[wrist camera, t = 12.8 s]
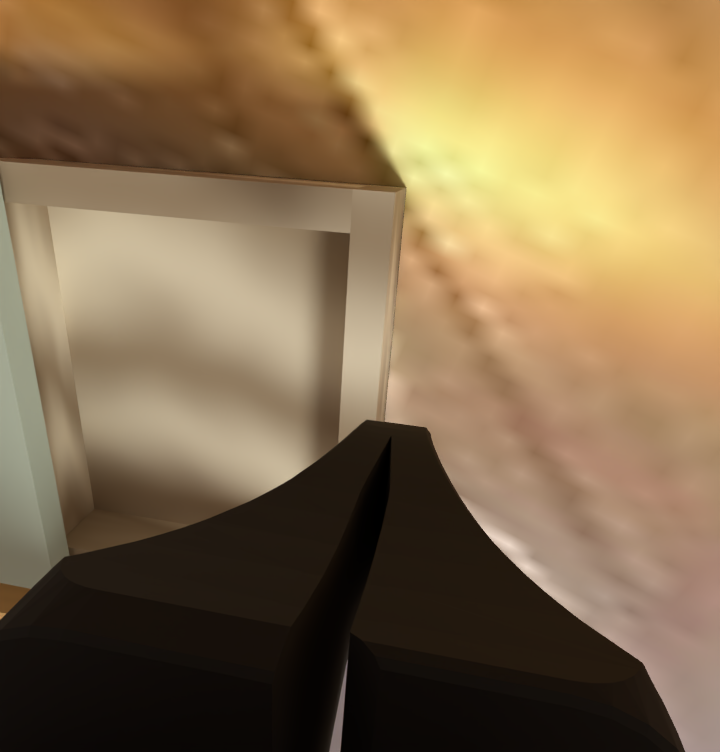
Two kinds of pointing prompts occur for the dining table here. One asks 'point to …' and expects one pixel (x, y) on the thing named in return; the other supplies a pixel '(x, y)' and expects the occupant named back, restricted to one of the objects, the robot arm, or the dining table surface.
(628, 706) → the robot arm
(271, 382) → the toolbox
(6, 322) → the lid
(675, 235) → the dining table surface
